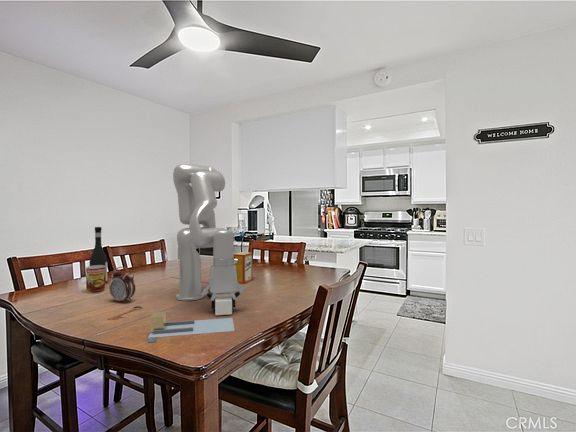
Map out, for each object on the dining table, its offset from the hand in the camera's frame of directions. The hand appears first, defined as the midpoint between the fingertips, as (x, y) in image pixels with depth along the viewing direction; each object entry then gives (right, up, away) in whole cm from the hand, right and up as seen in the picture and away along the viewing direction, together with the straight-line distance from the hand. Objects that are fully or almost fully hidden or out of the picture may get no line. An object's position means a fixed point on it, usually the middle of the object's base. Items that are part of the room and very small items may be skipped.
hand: (223, 309), depth 120 cm
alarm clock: (-47, -2, +17) cm, 50 cm away
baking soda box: (0, -1, +54) cm, 54 cm away
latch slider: (-17, -1, -17) cm, 25 cm away
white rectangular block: (0, -1, 0) cm, 1 cm away
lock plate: (-7, -3, -15) cm, 17 cm away
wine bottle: (-76, -1, +47) cm, 89 cm away
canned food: (-68, -1, +32) cm, 75 cm away
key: (-37, -3, +2) cm, 37 cm away
